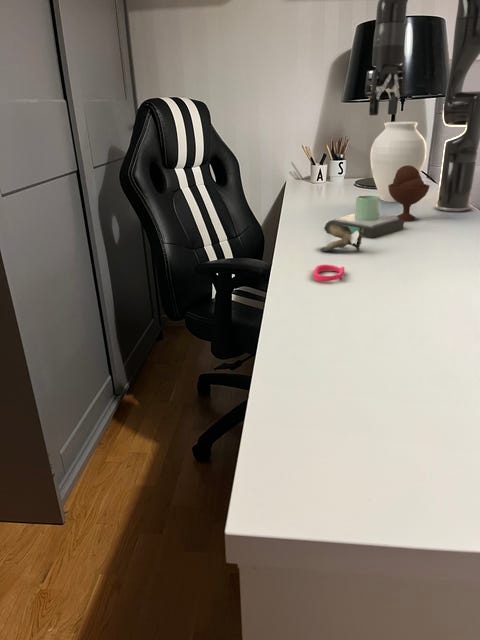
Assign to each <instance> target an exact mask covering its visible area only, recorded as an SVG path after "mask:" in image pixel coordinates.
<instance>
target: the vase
mask: <svg viewBox="0 0 480 640" xmlns="http://www.w3.org/2000/svg"><path fill="white" fill-rule="evenodd" d="M418 124H419V122H417V121H387V122H384V123H383V125H384V129H383V131H382V132H381V133H379V135H378V136H377V137H375V139H374V141H373V143H372V145H371V148H370V153H369V154H370V155H369V159H370V167H371V174H372V178H373V181H374V183H375V184H374V185H375V187H376V190H377V192H378V194H379V196H380V198H381V199H382V201H383V202H387V203H398V202H397V201H396V200H394V199H393V198H392V196H391V195H390V193H389V187H388V185H390V184H393V181H394V178H395V175H396V173H397V170H399V169H400V168H401V167H403V166H406V165H410V166H414V167H415V168H416V169H417V170H418V171H419V175H420V176H421V173H422V171H423V168H424V165H425V162H426V159H427V151H428V150H427V143H426V141H425V138H424V136H423V135H422V133H420V132H419V130H418V129H417V126H418Z"/></svg>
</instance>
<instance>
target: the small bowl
mask: <svg viewBox="0 0 480 640" xmlns="http://www.w3.org/2000/svg"><path fill="white" fill-rule="evenodd" d="M380 204H381V196H380V195H379V196H378V195H372V194H363V195H357V196H356V197H355V207H354V209H355V210H354V214H355V219H358V220H364V221H371V220H377V219H378V217H379V215H380Z"/></svg>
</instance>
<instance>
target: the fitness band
mask: <svg viewBox="0 0 480 640" xmlns="http://www.w3.org/2000/svg"><path fill="white" fill-rule="evenodd" d="M323 271H333V272H337V274H333V275H322V274H319V273H320V272H323ZM312 277H313V280H314V281H316V282H322V283H323V282H324V283H325V282H331V281H332V282H333V281H335V280H336V281H337V280H339V281H343V280H344V277H345V267H344V266H341V267H339V266H336V265H332V264H320V265H317V266H316V267H315V268H314V270H313V274H312Z"/></svg>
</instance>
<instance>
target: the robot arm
mask: <svg viewBox="0 0 480 640" xmlns="http://www.w3.org/2000/svg"><path fill="white" fill-rule="evenodd" d="M408 1H409V0H378V1H377V5H376V17H375V29H374V33H373V44H372V58H371V66H372V67H373V68H374V69H372V70H367V71H366V75H365V76H366V77H365V87H364V97H366V98H368V100H369V110H368V111H369V116H378V115H379V109H380V98H381V95H382V93H384V92H386V93H387V94H388V98H389V99H388V105H387V106H388V107H387V114H388V115H390V116H391V115H396V114H397V112H398V111H397V110H398V104H399V103H398V102H399V99H400V97H403V96H404V95H405V81H406V71H405V70H399V67H401V66H402V65H403V63H404V52H405V43H406V19H407V7H408ZM454 24H455V25H454V31H453V33H454V34H453V43H452V44H453V45H452V53H451V54H452V55H451V61H450V70H449V75H448V76H449V77H448V81H447V85H446V91H445V95H444V96H445V98H444V101H443V108H442V109H443V110H442V120H443V123H444V125H445V126H448V127H466V128H465V130H464V131H463V133H461V134H460V135H458V136H456V137H453V138H451V139H450V138H449V139H447V140H446V141H445V143H444V146H443V147H444V148H443V155H442V162H441V163H442V164H441V172H440V178H439V179H440V180H439V187H438V195H437V198H436V200H437V203H436V209H437V210H439V211H443V212H444V211H445V212H466V211H469V210H470V203H471V196H472V189H473V182H474V177H475V170H476V165H477V164H476V163H477V156H478V150H479V146H480V90H477V91H476V90H475V91H463V88H464V83H465V80H466V77H467V75H468V73H469V71H470V69H471V67H472V66H473V65H474V63H475V61H476V60H477V59H478V57H479V56H480V0H458V1H457V10H456V15H455V23H454Z"/></svg>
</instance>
